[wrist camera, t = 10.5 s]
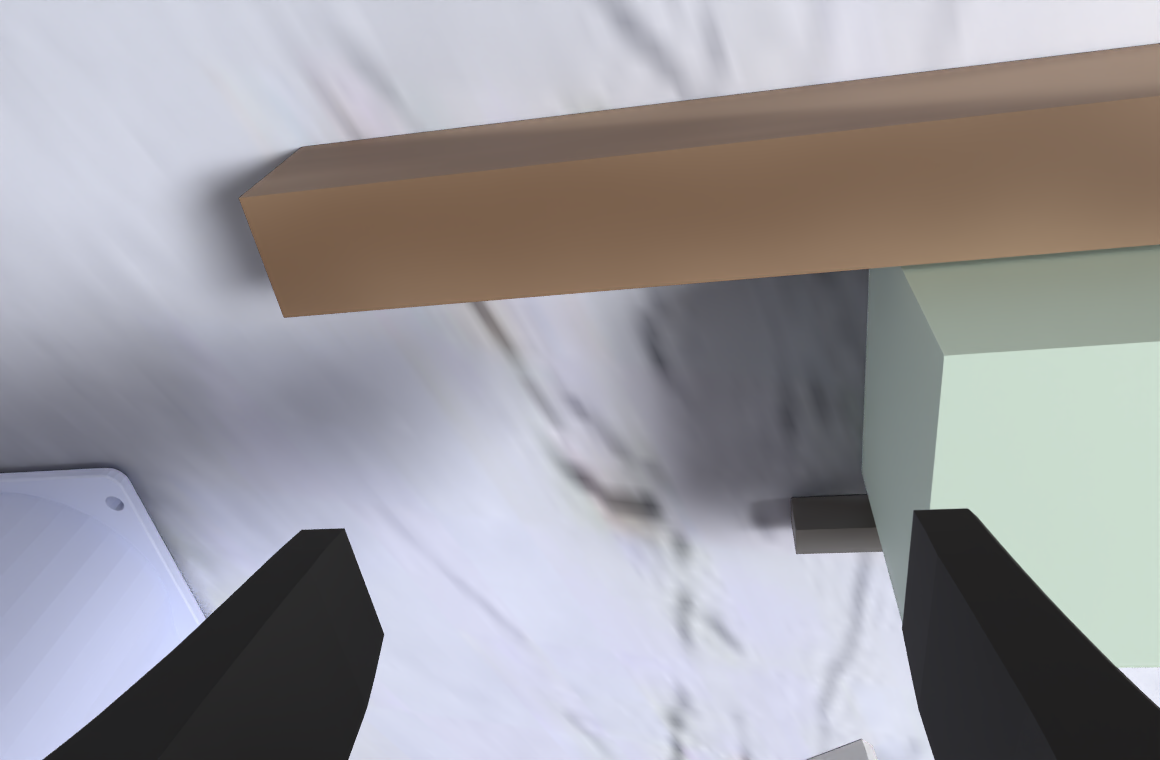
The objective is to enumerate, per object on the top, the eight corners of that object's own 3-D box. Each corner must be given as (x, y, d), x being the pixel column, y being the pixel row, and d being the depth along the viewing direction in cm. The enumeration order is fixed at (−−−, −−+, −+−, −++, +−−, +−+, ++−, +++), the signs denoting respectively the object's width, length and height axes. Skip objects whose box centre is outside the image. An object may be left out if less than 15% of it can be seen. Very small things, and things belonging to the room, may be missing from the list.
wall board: (1125, 509, 21) (1185, 602, 18) (427, 534, 24) (396, 616, 21) (1247, 33, 15) (1360, 73, 12) (301, 146, 18) (238, 198, 15)
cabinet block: (1052, 477, 21) (1168, 685, 16) (860, 486, 21) (913, 686, 16) (1108, 182, 17) (1288, 332, 12) (870, 205, 17) (944, 355, 12)
